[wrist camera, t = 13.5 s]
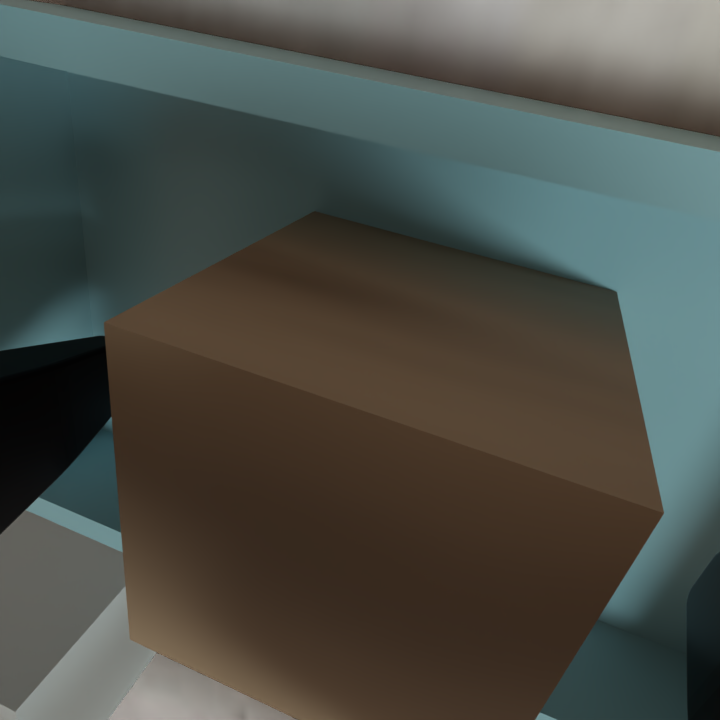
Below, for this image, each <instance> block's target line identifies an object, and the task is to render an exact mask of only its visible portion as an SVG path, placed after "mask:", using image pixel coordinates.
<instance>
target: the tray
mask: <svg viewBox="0 0 720 720" xmlns="http://www.w3.org/2000/svg"><path fill="white" fill-rule="evenodd" d="M314 211H316V212H320V213H323V214H327V215H331V216H335V217H338V218H342V219H346V220H350V221H353V222H357V223H361V224H365V225H368V226H372V227H376V228H380V229H383V230H387V231H391V232H395V233H398V234H402V235H406V236H410V237H413V238H417V239H421V240H425V241H428V242H432V243H436V244H440V245H443V246H447V247H451V248H455V249H458V250H462V251H466V252H470V253H473V254H477V255H481V256H485V257H489V258H492V259H496V260H500V261H504V262H507V263H511V264H515V265H519V266H522V267H526V268H530V269H534V270H537V271H541V272H545V273H549V274H552V275H556V276H560V277H564V278H567V279H571V280H575V281H579V282H582V283H586V284H590V285H594V286H597V287H601V288H605V289H609V290H612V291H616V292H617V295H618V300H619V304H620V309H621V314H622V318H623V323H624V328H625V332H626V337H627V342H628V346H629V351H630V356H631V360H632V365H633V370H634V374H635V379H636V384H637V389H638V393H639V398H640V403H641V407H642V412H643V417H644V421H645V426H646V431H647V435H648V440H649V445H650V449H651V454H652V459H653V463H654V468H655V473H656V477H657V482H658V487H659V491H660V496H661V501H662V505H663V510H664V514H663V516H662V518H661V519H660V521H659V522H658V524H657V526H656V527H655V529H654V530H653V532H652V534H651V535H650V537H649V538H648V540H647V542H646V543H645V545H644V546H643V548H642V550H641V551H640V553H639V554H638V556H637V558H636V559H635V561H634V562H633V564H632V566H631V567H630V569H629V570H628V572H627V574H626V575H625V577H624V578H623V580H622V582H621V583H620V585H619V586H618V588H617V590H616V591H615V593H614V594H613V596H612V598H611V599H610V601H609V602H608V604H607V606H606V607H605V609H604V610H603V612H602V614H601V615H600V617H599V618H598V620H597V622H596V623H595V625H594V626H593V628H592V630H591V631H590V633H589V634H588V636H587V638H586V639H585V641H584V642H583V644H582V646H581V647H580V649H579V650H578V652H577V654H576V655H575V657H574V659H573V660H572V662H571V663H570V665H569V667H568V668H567V670H566V671H565V673H564V675H563V676H562V678H561V679H560V681H559V683H558V684H557V686H556V687H555V689H554V691H553V692H552V694H551V695H550V697H549V699H548V700H547V702H546V703H545V705H544V707H543V708H542V710H541V711H540V713H539V715H538V716H537V718H536V719H535V720H688V716H687V658H686V602H687V597H688V594H689V591H690V589H691V587H692V586H693V584H694V583H695V582H696V580H697V579H698V578H699V576H700V575H701V573H702V572H703V571H704V569H705V568H706V566H707V565H708V564H709V562H710V561H711V559H712V558H713V557H714V556H715V555H716V553H718V552H719V551H720V137H718V136H713V135H708V134H703V133H698V132H693V131H688V130H683V129H678V128H673V127H668V126H663V125H658V124H653V123H648V122H643V121H638V120H633V119H628V118H623V117H618V116H613V115H608V114H603V113H598V112H593V111H588V110H583V109H578V108H573V107H568V106H563V105H558V104H553V103H548V102H543V101H538V100H533V99H528V98H523V97H518V96H513V95H508V94H503V93H498V92H493V91H488V90H483V89H478V88H473V87H468V86H463V85H458V84H453V83H448V82H443V81H438V80H433V79H428V78H423V77H418V76H413V75H408V74H403V73H398V72H393V71H388V70H383V69H379V68H374V67H369V66H364V65H359V64H354V63H349V62H344V61H339V60H334V59H329V58H324V57H319V56H314V55H309V54H304V53H299V52H294V51H289V50H284V49H279V48H274V47H269V46H264V45H259V44H254V43H249V42H244V41H239V40H234V39H229V38H224V37H219V36H214V35H209V34H204V33H199V32H194V31H189V30H184V29H179V28H174V27H169V26H164V25H159V24H154V23H149V22H144V21H139V20H134V19H129V18H124V17H119V16H114V15H109V14H104V13H99V12H94V11H89V10H84V9H79V8H74V7H69V6H64V5H58V4H51V3H44V2H37V1H30V0H0V351H2V350H8V349H15V348H21V347H28V346H34V345H41V344H47V343H54V342H61V341H67V340H74V339H80V338H87V337H93V336H101V335H102V336H105V331H104V322H105V321H107V320H109V319H111V318H113V317H115V316H117V315H119V314H120V313H122V312H124V311H126V310H128V309H130V308H132V307H134V306H136V305H138V304H139V303H141V302H143V301H145V300H147V299H149V298H151V297H153V296H155V295H156V294H158V293H160V292H162V291H164V290H166V289H168V288H170V287H172V286H174V285H175V284H177V283H179V282H181V281H183V280H185V279H187V278H189V277H191V276H192V275H194V274H196V273H198V272H200V271H202V270H204V269H206V268H208V267H210V266H211V265H213V264H215V263H217V262H219V261H221V260H223V259H225V258H227V257H228V256H230V255H232V254H234V253H236V252H238V251H240V250H242V249H244V248H246V247H247V246H249V245H251V244H253V243H255V242H257V241H259V240H261V239H263V238H264V237H266V236H268V235H270V234H272V233H274V232H276V231H278V230H280V229H282V228H283V227H285V226H287V225H289V224H291V223H293V222H295V221H297V220H299V219H301V218H302V217H304V216H306V215H308V214H310V213H312V212H314ZM26 510H27V511H29V512H31V513H34V514H36V515H38V516H41V517H43V518H45V519H47V520H50V521H52V522H54V523H57V524H59V525H61V526H63V527H66V528H68V529H70V530H73V531H75V532H77V533H79V534H82V535H84V536H86V537H89V538H91V539H93V540H95V541H98V542H100V543H102V544H105V545H107V546H109V547H111V548H114V549H116V550H118V551H121V552H123V550H122V538H121V526H120V514H119V502H118V489H117V477H116V465H115V453H114V441H113V429H112V417H111V418H110V419H109V421H108V422H107V423H106V424H105V425H104V426H103V428H102V429H101V430H100V431H99V432H98V434H97V435H96V436H95V437H94V438H93V440H92V441H91V442H90V443H89V444H88V446H87V447H86V448H85V449H84V450H83V452H82V453H81V454H80V455H79V456H78V457H77V459H76V460H75V461H74V462H73V463H72V464H71V465H70V466H69V468H68V469H67V470H66V471H65V472H64V473H63V474H62V475H61V476H60V477H59V478H58V479H57V480H56V481H55V482H54V483H53V484H52V485H51V486H50V487H49V488H48V489H47V490H46V491H45V492H44V493H43V494H42V495H41V496H40V497H39V498H37V499H36V500H35V501H34V502H33V503H32V504H31V505H30V506H29V507H28V508H27V509H26Z"/></svg>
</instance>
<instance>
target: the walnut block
mask: <svg viewBox="0 0 720 720" xmlns="http://www.w3.org/2000/svg"><path fill="white" fill-rule="evenodd" d="M104 331H105V344H106V356H107V368H108V380H109V392H110V404H111V416H112V429H113V441H114V453H115V465H116V477H117V489H118V502H119V514H120V526H121V538H122V550H123V562H124V574H125V587H126V599H127V611H128V623H129V635H130V640H132V641H134V642H136V643H138V644H140V645H142V646H144V647H146V648H148V649H151V650H153V651H155V652H157V653H159V654H161V655H163V656H165V657H167V658H169V659H172V660H174V661H176V662H178V663H180V664H182V665H184V666H186V667H188V668H190V669H193V670H195V671H197V672H199V673H201V674H203V675H205V676H207V677H209V678H211V679H214V680H216V681H218V682H220V683H222V684H224V685H226V686H228V687H230V688H232V689H235V690H237V691H239V692H241V693H243V694H245V695H247V696H249V697H251V698H253V699H256V700H258V701H260V702H262V703H264V704H266V705H268V706H270V707H272V708H274V709H277V710H279V711H281V712H283V713H285V714H287V715H289V716H291V717H293V718H295V719H298V720H535V719H536V718H537V716H538V715H539V713H540V711H541V710H542V708H543V707H544V705H545V703H546V702H547V700H548V699H549V697H550V695H551V694H552V692H553V691H554V689H555V687H556V686H557V684H558V683H559V681H560V679H561V678H562V676H563V675H564V673H565V671H566V670H567V668H568V667H569V665H570V663H571V662H572V660H573V659H574V657H575V655H576V654H577V652H578V650H579V649H580V647H581V646H582V644H583V642H584V641H585V639H586V638H587V636H588V634H589V633H590V631H591V630H592V628H593V626H594V625H595V623H596V622H597V620H598V618H599V617H600V615H601V614H602V612H603V610H604V609H605V607H606V606H607V604H608V602H609V601H610V599H611V598H612V596H613V594H614V593H615V591H616V590H617V588H618V586H619V585H620V583H621V582H622V580H623V578H624V577H625V575H626V574H627V572H628V570H629V569H630V567H631V566H632V564H633V562H634V561H635V559H636V558H637V556H638V554H639V553H640V551H641V550H642V548H643V546H644V545H645V543H646V542H647V540H648V538H649V537H650V535H651V534H652V532H653V530H654V529H655V527H656V526H657V524H658V522H659V521H660V519H661V518H662V516H663V514H664V510H663V505H662V501H661V496H660V491H659V487H658V482H657V477H656V473H655V468H654V463H653V459H652V454H651V449H650V445H649V440H648V435H647V431H646V426H645V421H644V417H643V412H642V407H641V403H640V398H639V393H638V389H637V384H636V379H635V374H634V370H633V365H632V360H631V356H630V351H629V346H628V342H627V337H626V332H625V328H624V323H623V318H622V314H621V309H620V304H619V300H618V295H617V292H616V291H612V290H609V289H605V288H601V287H597V286H594V285H590V284H586V283H582V282H579V281H575V280H571V279H567V278H564V277H560V276H556V275H552V274H549V273H545V272H541V271H537V270H534V269H530V268H526V267H522V266H519V265H515V264H511V263H507V262H504V261H500V260H496V259H492V258H489V257H485V256H481V255H477V254H473V253H470V252H466V251H462V250H458V249H455V248H451V247H447V246H443V245H440V244H436V243H432V242H428V241H425V240H421V239H417V238H413V237H410V236H406V235H402V234H398V233H395V232H391V231H387V230H383V229H380V228H376V227H372V226H368V225H365V224H361V223H357V222H353V221H350V220H346V219H342V218H338V217H335V216H331V215H327V214H323V213H320V212H316V211H314V212H312V213H310V214H308V215H306V216H304V217H302V218H301V219H299V220H297V221H295V222H293V223H291V224H289V225H287V226H285V227H283V228H282V229H280V230H278V231H276V232H274V233H272V234H270V235H268V236H266V237H264V238H263V239H261V240H259V241H257V242H255V243H253V244H251V245H249V246H247V247H246V248H244V249H242V250H240V251H238V252H236V253H234V254H232V255H230V256H228V257H227V258H225V259H223V260H221V261H219V262H217V263H215V264H213V265H211V266H210V267H208V268H206V269H204V270H202V271H200V272H198V273H196V274H194V275H192V276H191V277H189V278H187V279H185V280H183V281H181V282H179V283H177V284H175V285H174V286H172V287H170V288H168V289H166V290H164V291H162V292H160V293H158V294H156V295H155V296H153V297H151V298H149V299H147V300H145V301H143V302H141V303H139V304H138V305H136V306H134V307H132V308H130V309H128V310H126V311H124V312H122V313H120V314H119V315H117V316H115V317H113V318H111V319H109V320H107V321H105V322H104Z"/></svg>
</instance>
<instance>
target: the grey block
mask: <svg viewBox="0 0 720 720" xmlns="http://www.w3.org/2000/svg"><path fill="white" fill-rule="evenodd" d="M156 653H157V652H155V651H153V650H151V649H148V648H146V647H144V646H142V645H140V644H138V643H136V642H134V641H132V640H130V635H129V623H128V611H127V599H126V587H125V574H124V562H123V552H121V551H118V550H116V549H114V548H111V547H109V546H107V545H105V544H102V543H100V542H98V541H95V540H93V539H91V538H89V537H86V536H84V535H82V534H79V533H77V532H75V531H73V530H70V529H68V528H66V527H63V526H61V525H59V524H57V523H54V522H52V521H50V520H47V519H45V518H43V517H41V516H38V515H36V514H34V513H31V512H29V511H27V510H25V511H24V512H23V513H22V514H21V515H20V516H19V517H18V518H17V519H16V520H15V521H14V522H13V523H12V524H11V525H10V526H9V527H8V528H7V529H6V530H5V531H4V532H3V533H2V534H1V535H0V720H108V719H109V718H110V717H111V715H112V714H113V712H114V711H115V710H116V708H117V707H118V705H119V704H120V703H121V701H122V700H123V698H124V697H125V696H126V694H127V693H128V692H129V690H130V689H131V687H132V686H133V685H134V683H135V682H136V680H137V679H138V678H139V676H140V675H141V673H142V672H143V671H144V669H145V668H146V667H147V665H148V664H149V662H150V661H151V660H152V658H153V657H154V655H155V654H156Z"/></svg>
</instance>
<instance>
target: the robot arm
mask: <svg viewBox="0 0 720 720" xmlns="http://www.w3.org/2000/svg"><path fill="white" fill-rule="evenodd" d="M111 417H112V416H111V404H110V392H109V380H108V368H107V356H106V344H105V336H102V335H101V336H93V337H87V338H80V339H74V340H67V341H61V342H54V343H47V344H41V345H34V346H28V347H21V348H15V349H8V350H2V351H0V535H1V534H2V533H3V532H4V531H5V530H6V529H7V528H8V527H9V526H10V525H11V524H12V523H13V522H14V521H15V520H16V519H17V518H18V517H19V516H20V515H21V514H22V513H23V512H24V511H25V510H26V509H27V508H28V507H29V506H30V505H31V504H32V503H33V502H34V501H35V500H36V499H37V498H39V497H40V496H41V495H42V494H43V493H44V492H45V491H46V490H47V489H48V488H49V487H50V486H51V485H52V484H53V483H54V482H55V481H56V480H57V479H58V478H59V477H60V476H61V475H62V474H63V473H64V472H65V471H66V470H67V469H68V468H69V466H70V465H71V464H72V463H73V462H74V461H75V460H76V459H77V457H78V456H79V455H80V454H81V453H82V452H83V450H84V449H85V448H86V447H87V446H88V444H89V443H90V442H91V441H92V440H93V438H94V437H95V436H96V435H97V434H98V432H99V431H100V430H101V429H102V428H103V426H104V425H105V424H106V423H107V422H108V421H109V419H110V418H111ZM686 658H687V716H688V720H720V551H719V552H718V553H716V555H715V556H714V557H713V558H712V559H711V561H710V562H709V564H708V565H707V566H706V568H705V569H704V571H703V572H702V573H701V575H700V576H699V578H698V579H697V580H696V582H695V583H694V584H693V586H692V587H691V589H690V591H689V594H688V597H687V602H686Z"/></svg>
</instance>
